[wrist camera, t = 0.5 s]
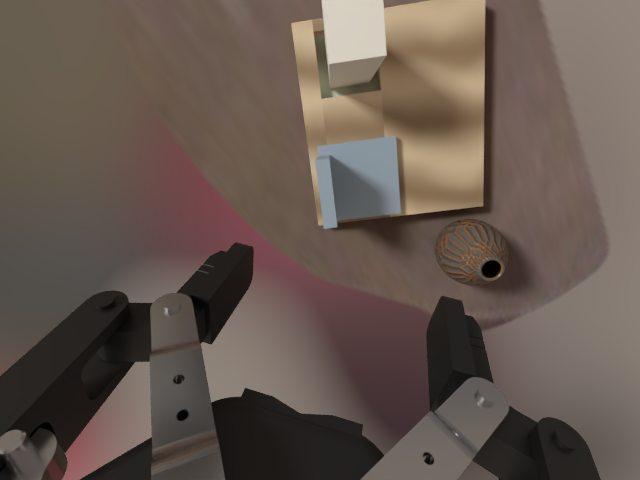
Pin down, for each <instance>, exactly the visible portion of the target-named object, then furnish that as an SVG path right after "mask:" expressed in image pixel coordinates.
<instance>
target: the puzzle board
mask: <svg viewBox="0 0 640 480" xmlns="http://www.w3.org/2000/svg"><path fill="white" fill-rule="evenodd" d="M384 22H385V37H386V52H387V56H386V57H385V59H384V60H383V62H382V63H381V65H380V67H379V68H378V70H377V71H376V73H375V74H374V76H373V77H372V79H371V81H370V82H369V83H366V84H360V85H353V86H346V87H339V88H332V89H330V82H329V73H328V64H327V55H326V46H325V34H324V22H323V18H320V19H314V20H308V21H302V22H296V23H291V25H292V32H293V40H294V47H295V54H296V62H297V69H298V77H299V84H300V91H301V99H302V106H303V114H304V121H305V128H306V136H307V143H308V151H309V158H310V165H311V173H312V180H313V188H314V195H315V202H316V210H317V217H318V225H323V217H322V209H321V202H320V194H319V186H318V179H317V171H316V163H315V160H316V159H317V157H318V149H317V146H323V145H330V144H338V143H345V142H353V141H360V140H367V139H375V138H382V137H390V136H396V144H397V160H398V176H399V192H400V208H401V213H399V214H390V215H382V216H373V217H365V218H356V219H348V220H339V221H337V223H343V222H352V221H360V220H369V219H377V218H386V217H394V216H403V215H412V214H420V213H429V212H437V211H446V210H454V209H463V208H471V207H480V206H483V187H484V85H485V0H431V1H425V2H418V3H412V4H406V5H400V6H394V7H388V8H384Z"/></svg>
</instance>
